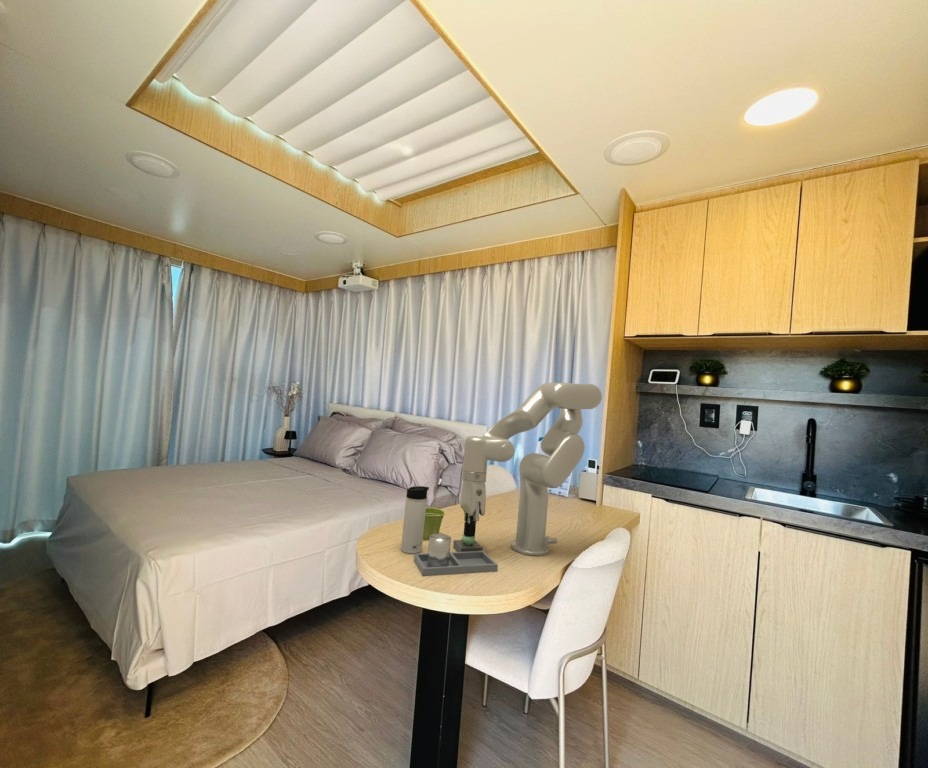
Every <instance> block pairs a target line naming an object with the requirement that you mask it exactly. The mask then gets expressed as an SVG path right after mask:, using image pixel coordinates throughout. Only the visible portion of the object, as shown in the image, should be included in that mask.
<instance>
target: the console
mask: <svg viewBox="0 0 928 768" xmlns="http://www.w3.org/2000/svg"><path fill="white" fill-rule="evenodd" d="M452 548H453V549H454V550H455V552H469V551H484V550H483V549H484V548H483V546H482V545H480V544H479V542H477V541H476V540H475V543H474V544H471V545H465V543H463V542H462V539H455V540H454V539H453V544H452Z"/></svg>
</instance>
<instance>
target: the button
mask: <svg viewBox="0 0 928 768" xmlns="http://www.w3.org/2000/svg"><path fill="white" fill-rule="evenodd" d="M461 540H462V542H463V543H465V545H471V544H474V543H475V541H476V535H475V536H471V537H466V536H465V535H464V533H463V534H462V535H461Z"/></svg>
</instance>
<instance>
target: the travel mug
mask: <svg viewBox="0 0 928 768" xmlns="http://www.w3.org/2000/svg"><path fill="white" fill-rule="evenodd" d="M429 488H430V487H429V486H424V485H423V486H422V485H421V486H420V485H419V486H417V485H416V486H410V487H408V488H407V489H406V497H405V504H404V505H405V506H404V515H403V525H402V538H401V544H400V545H401V546H400V551H401V552H402V553H403V554H406V555H414V554H422V552H423V541H424V539H423V533H424V522H425V512H426V508H427V500H428V498H427V495H428V491H429V490H430V489H429Z"/></svg>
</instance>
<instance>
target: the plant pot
mask: <svg viewBox="0 0 928 768" xmlns="http://www.w3.org/2000/svg"><path fill="white" fill-rule="evenodd" d="M445 515H446V511H444V510H443V509H440V508H436V507H426V512H425V522H424V533H423V540H427V541H429V537H430V535H432V534H440V529H441V525H442V522H443V519H444V516H445Z"/></svg>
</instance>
